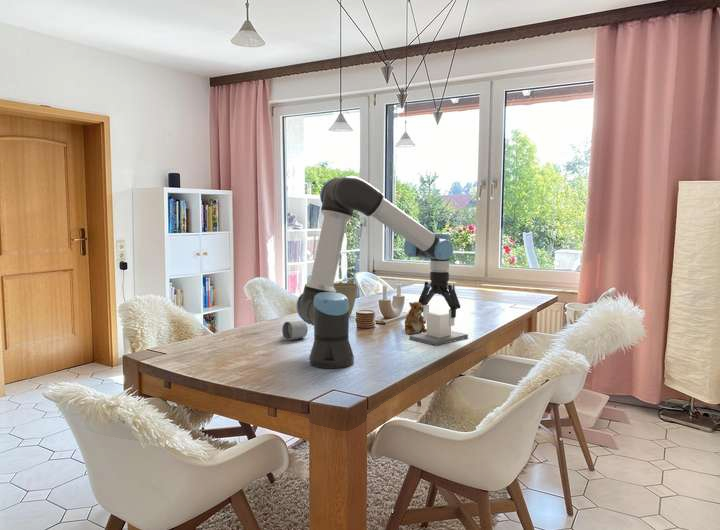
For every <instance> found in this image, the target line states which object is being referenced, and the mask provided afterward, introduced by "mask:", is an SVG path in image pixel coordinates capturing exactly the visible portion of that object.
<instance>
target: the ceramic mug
mask: <svg viewBox="0 0 720 530" xmlns="http://www.w3.org/2000/svg"><path fill="white" fill-rule="evenodd" d="M281 332H282V336H283V338H284V339H285V341H288V340H289V341H293V340H294V339H295V340H299V338H300V339H303V338H305V337H306V336H307V334H308V324H307V323H306V322H305V321H304V320H289V321H288V320H287V321H285V322H284V323H283V324H282V329H281Z"/></svg>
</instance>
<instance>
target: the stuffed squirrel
mask: <svg viewBox="0 0 720 530" xmlns="http://www.w3.org/2000/svg"><path fill="white" fill-rule="evenodd" d="M408 304H409V307H410V308H409V310H408V313H407V314H406V317H405V320H404V333H405V334H407V335H413V334H414V333H415V334H419V333H420V332H423V333H424V332H427V328H426V326H425V325H427V321H423V312H422V304H421V303H419V302H418V301H414V302H411V301H410V302H409V303H408ZM418 332H419V333H418Z"/></svg>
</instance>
